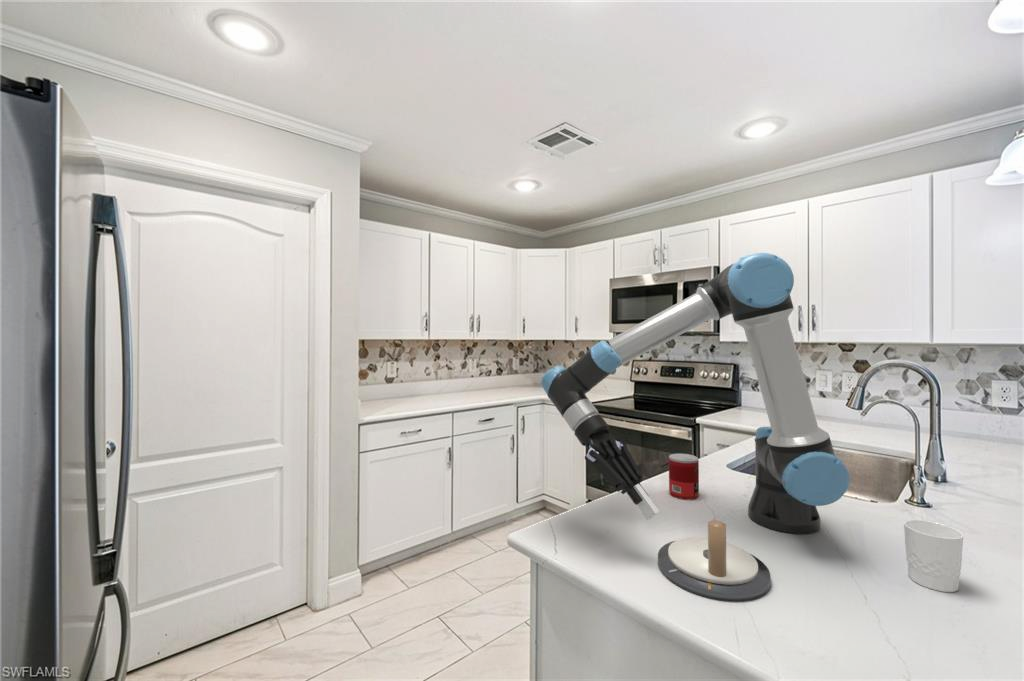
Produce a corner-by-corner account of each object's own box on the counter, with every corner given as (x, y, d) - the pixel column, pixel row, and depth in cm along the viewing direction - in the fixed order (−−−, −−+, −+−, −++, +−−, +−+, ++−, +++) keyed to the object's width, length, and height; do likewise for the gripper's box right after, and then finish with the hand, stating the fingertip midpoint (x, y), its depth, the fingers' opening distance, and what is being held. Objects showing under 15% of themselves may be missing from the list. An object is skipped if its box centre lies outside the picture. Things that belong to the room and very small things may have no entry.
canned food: (701, 500, 121) (701, 461, 121) (671, 499, 123) (670, 460, 123) (695, 491, 129) (695, 453, 128) (667, 489, 130) (666, 452, 130)
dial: (686, 534, 97) (685, 490, 97) (767, 559, 86) (767, 509, 86) (654, 563, 85) (654, 512, 85) (744, 595, 74) (744, 537, 74)
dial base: (746, 548, 94) (746, 540, 94) (791, 605, 74) (790, 596, 74) (650, 543, 97) (650, 535, 97) (668, 596, 77) (668, 587, 77)
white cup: (892, 571, 84) (892, 520, 84) (930, 569, 85) (930, 518, 85) (935, 596, 76) (935, 539, 76) (976, 593, 77) (976, 537, 77)
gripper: (595, 428, 108) (658, 515, 95) (559, 437, 99) (624, 534, 87) (612, 409, 104) (681, 497, 91) (576, 417, 95) (647, 516, 83)
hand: (653, 515), depth 89 cm, fingers closed
